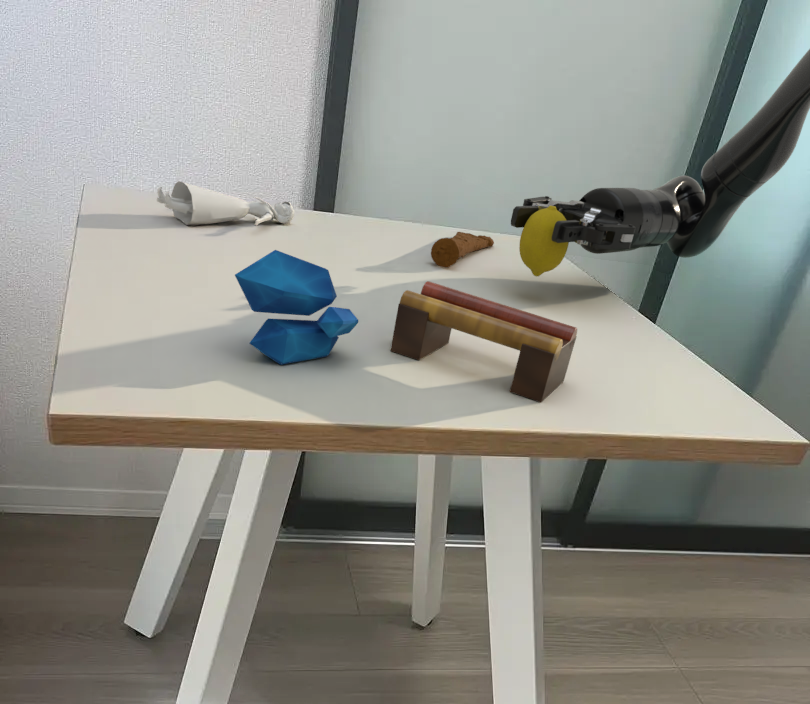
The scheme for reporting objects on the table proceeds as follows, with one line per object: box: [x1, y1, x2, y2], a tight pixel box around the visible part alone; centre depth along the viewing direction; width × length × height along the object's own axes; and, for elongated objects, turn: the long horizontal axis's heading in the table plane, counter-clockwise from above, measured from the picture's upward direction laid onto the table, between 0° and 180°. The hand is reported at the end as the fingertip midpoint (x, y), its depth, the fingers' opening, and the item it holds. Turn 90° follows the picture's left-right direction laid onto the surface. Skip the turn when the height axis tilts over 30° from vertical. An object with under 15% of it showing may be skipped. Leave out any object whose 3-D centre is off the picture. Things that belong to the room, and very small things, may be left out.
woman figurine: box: [156, 180, 295, 226], centre depth 111 cm, size 12×4×18 cm
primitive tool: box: [430, 231, 495, 268], centre depth 118 cm, size 19×6×4 cm, turn 165°
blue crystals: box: [234, 249, 359, 366], centre depth 75 cm, size 7×9×12 cm
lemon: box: [518, 206, 570, 277], centre depth 103 cm, size 6×6×8 cm
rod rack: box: [390, 280, 578, 403], centre depth 82 cm, size 15×7×6 cm, turn 64°
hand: (535, 224), depth 100 cm, fingers closed on lemon, 5 cm apart
